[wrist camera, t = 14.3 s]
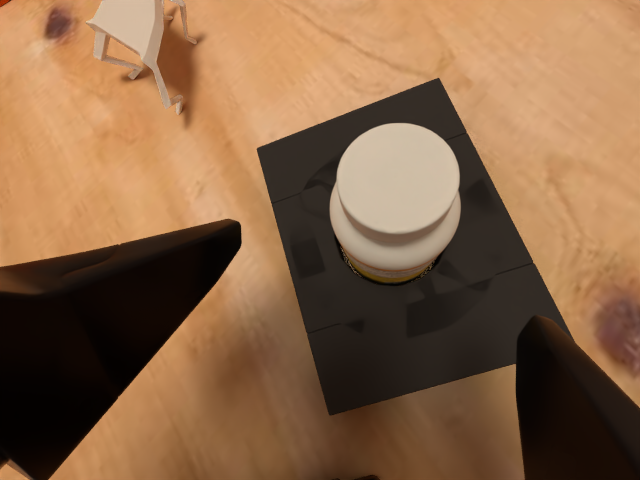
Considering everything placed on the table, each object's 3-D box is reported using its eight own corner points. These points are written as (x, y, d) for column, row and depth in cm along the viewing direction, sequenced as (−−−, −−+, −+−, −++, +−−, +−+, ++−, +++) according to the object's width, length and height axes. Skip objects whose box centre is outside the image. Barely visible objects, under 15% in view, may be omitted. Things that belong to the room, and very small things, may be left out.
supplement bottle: (409, 302, 18) (437, 288, 9) (330, 260, 20) (286, 213, 11) (448, 224, 19) (513, 136, 10) (369, 189, 20) (360, 85, 11)
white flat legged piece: (106, 59, 28) (51, 7, 23) (179, 3, 28) (138, -60, 23) (160, 148, 24) (108, 108, 20) (244, 84, 24) (212, 29, 20)
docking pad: (549, 342, 16) (577, 346, 14) (336, 402, 18) (329, 416, 15) (432, 104, 21) (439, 76, 19) (269, 166, 22) (256, 147, 20)
